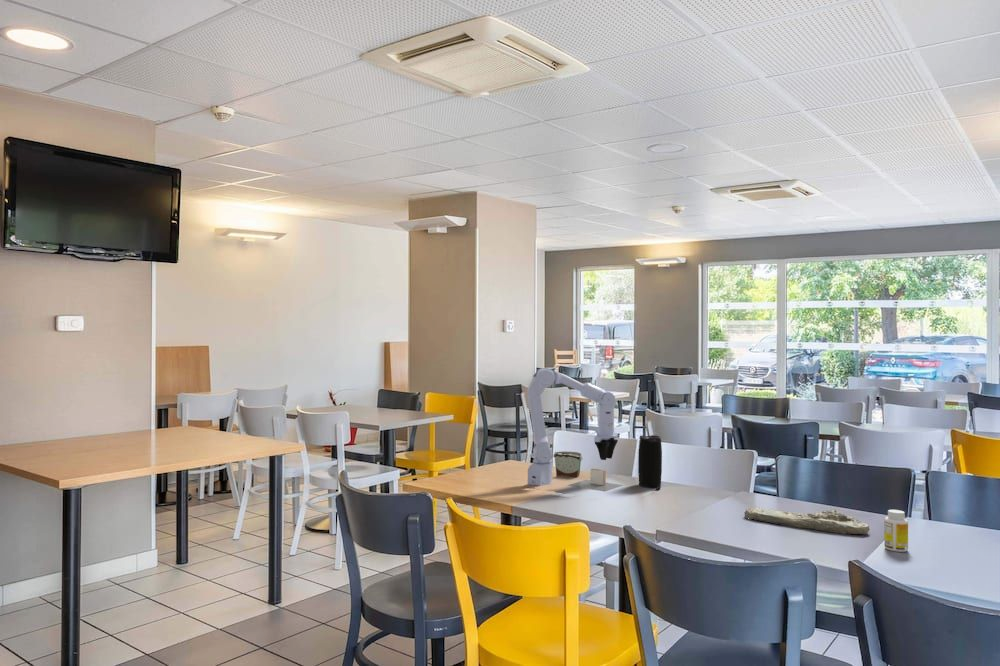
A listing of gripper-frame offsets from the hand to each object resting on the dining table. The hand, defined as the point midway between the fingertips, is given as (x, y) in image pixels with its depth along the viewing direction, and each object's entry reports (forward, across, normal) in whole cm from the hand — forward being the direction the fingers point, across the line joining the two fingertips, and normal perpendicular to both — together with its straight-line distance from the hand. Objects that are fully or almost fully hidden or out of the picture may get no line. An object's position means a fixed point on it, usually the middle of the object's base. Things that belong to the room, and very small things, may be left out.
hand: (606, 459), depth 271 cm
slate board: (+10, -8, 0) cm, 13 cm away
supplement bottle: (+10, -24, -101) cm, 104 cm away
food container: (+10, +4, +18) cm, 21 cm away
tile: (+9, -6, 0) cm, 11 cm away
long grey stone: (+10, -13, -75) cm, 77 cm away
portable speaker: (+10, +4, -16) cm, 19 cm away
